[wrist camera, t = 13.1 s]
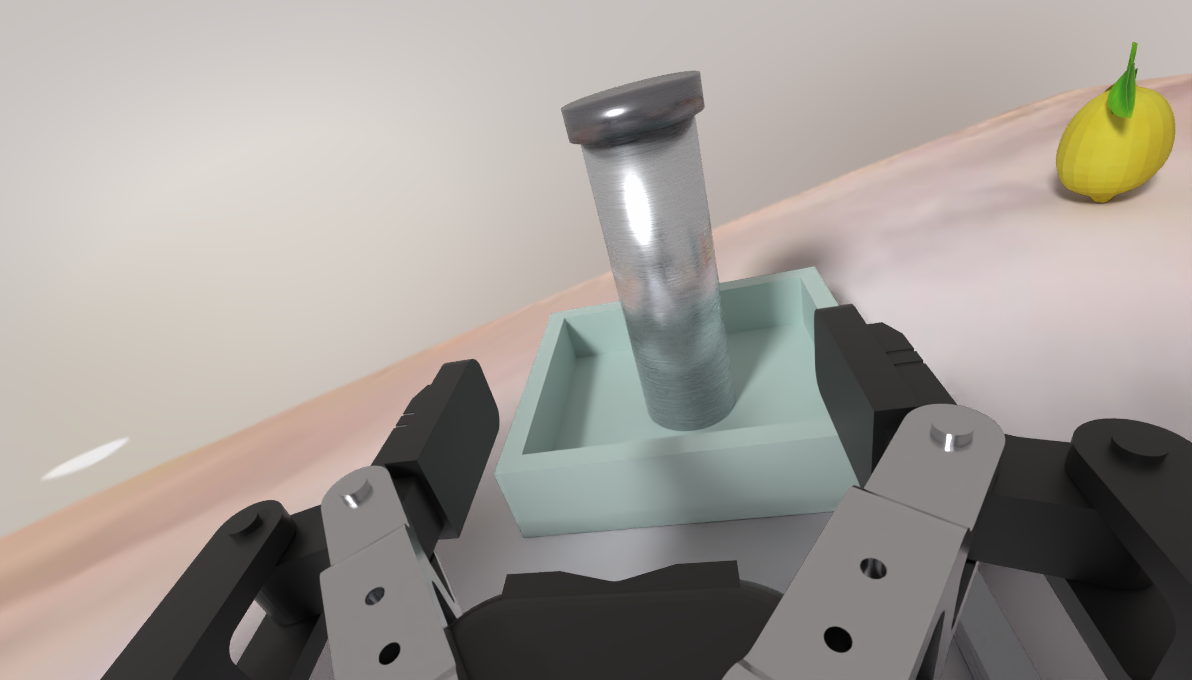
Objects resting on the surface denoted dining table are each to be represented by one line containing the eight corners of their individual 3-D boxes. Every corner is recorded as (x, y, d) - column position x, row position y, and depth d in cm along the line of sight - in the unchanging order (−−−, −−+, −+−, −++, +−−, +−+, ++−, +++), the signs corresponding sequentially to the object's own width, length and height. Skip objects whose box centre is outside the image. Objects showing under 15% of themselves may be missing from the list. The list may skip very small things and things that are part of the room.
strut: (638, 442, 26) (549, 119, 19) (641, 378, 31) (571, 98, 23) (751, 429, 25) (704, 79, 17) (737, 364, 29) (695, 65, 22)
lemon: (1104, 229, 34) (1145, 56, 29) (1019, 208, 39) (1042, 58, 34) (1193, 197, 34) (1249, 22, 29) (1098, 181, 39) (1132, 30, 35)
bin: (523, 537, 24) (494, 474, 22) (568, 364, 36) (551, 313, 34) (908, 505, 21) (913, 426, 19) (817, 325, 32) (814, 266, 31)
